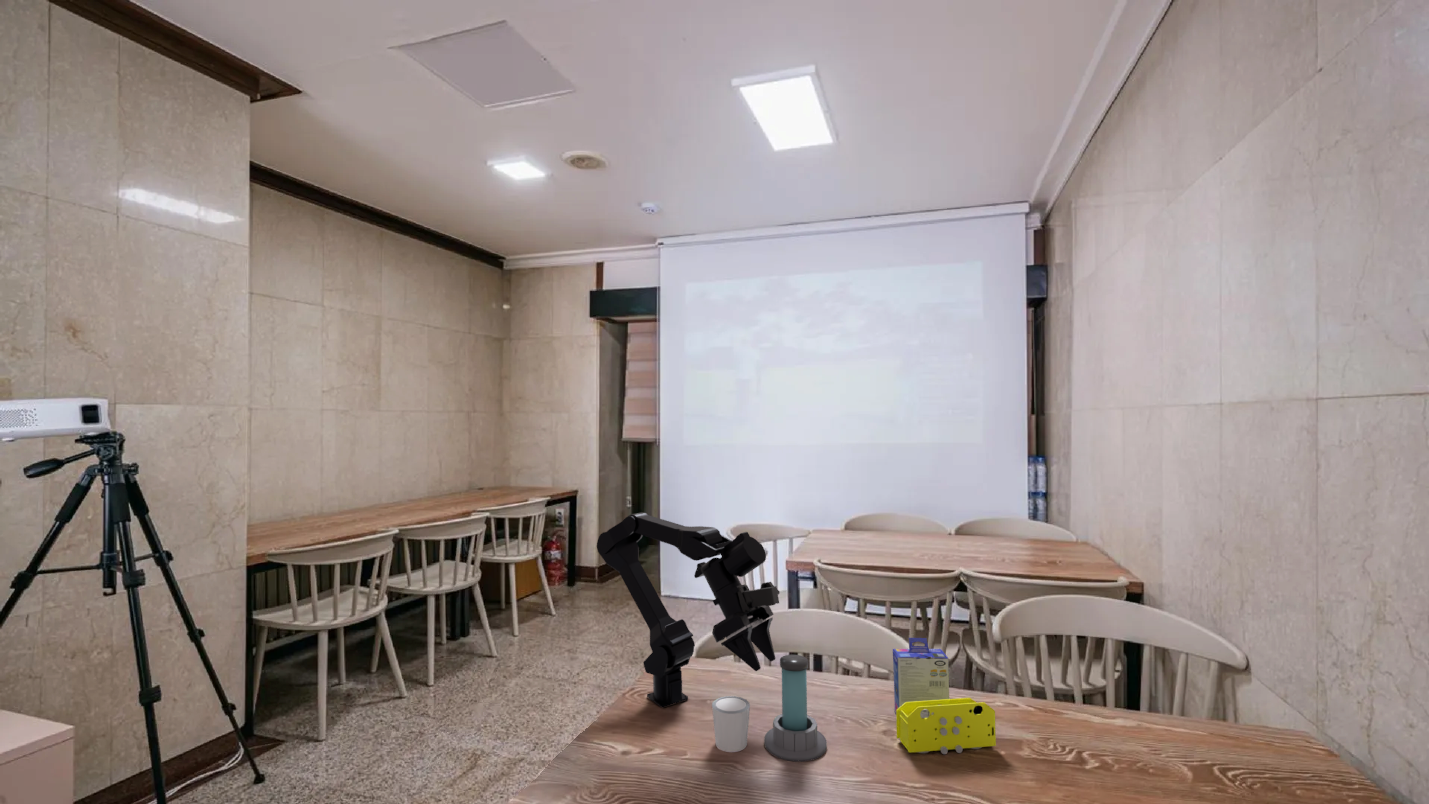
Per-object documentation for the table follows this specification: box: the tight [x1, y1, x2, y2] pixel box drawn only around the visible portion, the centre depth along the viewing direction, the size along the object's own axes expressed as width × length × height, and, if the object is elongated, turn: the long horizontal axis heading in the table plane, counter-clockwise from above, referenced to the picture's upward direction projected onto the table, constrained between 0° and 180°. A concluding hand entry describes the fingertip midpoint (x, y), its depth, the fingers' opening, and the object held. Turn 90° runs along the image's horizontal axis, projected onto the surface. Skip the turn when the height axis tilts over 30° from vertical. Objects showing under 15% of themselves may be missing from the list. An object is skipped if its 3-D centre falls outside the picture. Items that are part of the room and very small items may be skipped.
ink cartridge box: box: [892, 637, 950, 714], centre depth 118 cm, size 10×6×14 cm, turn 86°
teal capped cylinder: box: [779, 654, 809, 731], centre depth 108 cm, size 5×5×14 cm
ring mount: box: [763, 713, 828, 763], centre depth 107 cm, size 11×11×4 cm
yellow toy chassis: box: [895, 697, 997, 755], centre depth 107 cm, size 16×6×8 cm, turn 97°
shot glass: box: [711, 695, 751, 753], centre depth 108 cm, size 7×7×7 cm
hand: (766, 665), depth 112 cm, fingers open, 9 cm apart
